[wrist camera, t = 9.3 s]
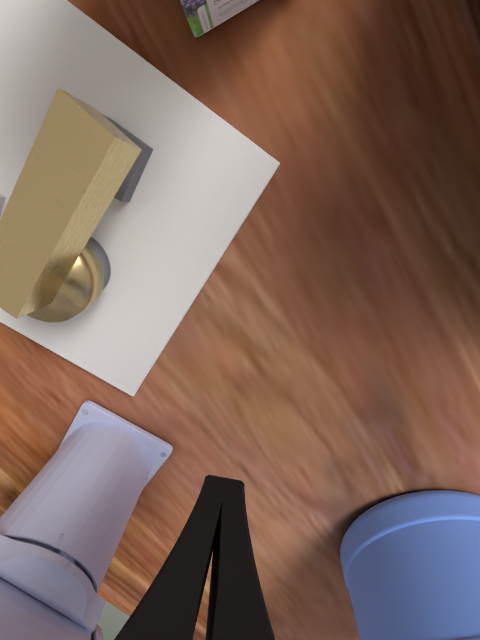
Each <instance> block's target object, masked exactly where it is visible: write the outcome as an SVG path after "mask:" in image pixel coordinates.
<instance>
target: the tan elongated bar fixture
mask: <svg viewBox="0 0 480 640" xmlns="http://www.w3.org/2000/svg"><path fill="white" fill-rule="evenodd" d="M141 150H142V149H140V148H139V147H138V146H137V145H136V144H135V143H134V142H133V141H132V140H130V139H129V138H128V137H127V136H126V135H125V134H124V133H123V132H122V131H120V130H119V129H118V128H117V127H116V126H115V125H114V124H113V123H111V122H110V121H109V120H108V119H107V118H106V117H105V116H104V115H103V114H101V113H100V112H99V111H98V110H97V109H96V108H94V107H92V106H90V105H89V104H87V103H85V102H83V101H82V100H80V99H78V98H76V97H75V96H73V95H71V94H69V93H68V92H66V91H64V90H62V89H61V88H59V87H58V88H57V91H56V93H55V95H54V98H53V100H52V102H51V104H50V107H49V109H48V111H47V114H46V116H45V118H44V120H43V123H42V125H41V127H40V130H39V132H38V134H37V136H36V139H35V141H34V143H33V146H32V148H31V150H30V152H29V155H28V157H27V159H26V162H25V164H24V166H23V168H22V171H21V173H20V175H19V178H18V180H17V182H16V185H15V187H14V189H13V191H12V194H11V196H10V198H9V201H8V203H7V205H6V207H5V210H4V212H3V214H2V217H1V219H0V308H1V309H3V310H4V311H5V312H7V313H8V314H10V315H11V316H13V317H14V318H16V319H18V318H20V317H22V316H24V315H28V316H30V317H32V318H34V319H37V320H40V321H44V322H53V323H56V322H63V321H66V320H69V319H71V318H73V317H74V316H76V315H78V314H80V313H81V312H83V311H85V310H87V309H88V308H90V307H91V306H93V305H94V304H95V303H96V302H97V300H98V299H99V297H100V295H101V293H102V290H103V284H104V276H103V270H102V266H101V263H100V260H99V258H98V256H97V254H96V253H95V251H94V249H93V248H92V247H91V245H90V244H89V243H88V240H89V238H90V237H91V235H92V233H93V232H94V230H95V228H96V227H97V225H98V223H99V221H100V220H101V218H102V216H103V215H104V213H105V211H106V210H107V208H108V206H109V205H110V203H111V201H112V199H113V198H114V196H115V194H116V193H117V191H118V189H119V188H120V186H121V184H122V182H123V181H124V179H125V177H126V176H127V174H128V172H129V171H130V169H131V167H132V166H133V164H134V162H135V160H136V159H137V157H138V155H139V154H140V152H141Z"/></svg>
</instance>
